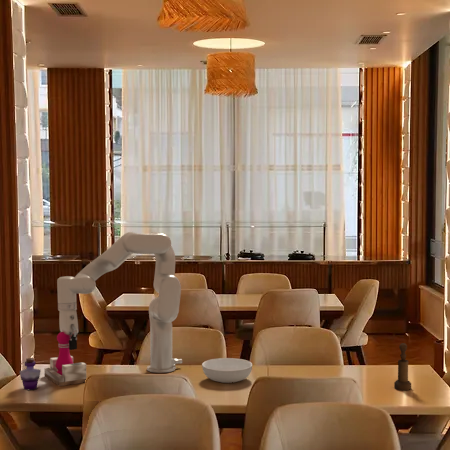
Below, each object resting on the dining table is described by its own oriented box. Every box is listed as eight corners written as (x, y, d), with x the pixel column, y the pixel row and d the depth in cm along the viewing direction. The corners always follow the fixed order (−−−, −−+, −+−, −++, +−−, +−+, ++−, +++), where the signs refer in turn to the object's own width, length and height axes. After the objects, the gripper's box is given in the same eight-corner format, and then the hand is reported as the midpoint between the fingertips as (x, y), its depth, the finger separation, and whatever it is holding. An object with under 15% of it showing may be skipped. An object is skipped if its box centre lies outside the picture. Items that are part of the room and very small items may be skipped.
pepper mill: (69, 378, 315) (68, 329, 314) (52, 377, 317) (52, 329, 316) (76, 373, 322) (75, 326, 321) (59, 372, 324) (59, 325, 323)
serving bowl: (193, 383, 313) (193, 366, 312) (215, 371, 332) (215, 356, 331) (240, 389, 304) (240, 372, 304) (260, 377, 323) (260, 360, 323)
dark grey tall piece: (413, 387, 306) (414, 342, 305) (408, 391, 300) (409, 345, 299) (397, 385, 309) (397, 341, 308) (392, 389, 304) (392, 344, 303)
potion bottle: (24, 385, 311) (24, 355, 310) (45, 385, 309) (44, 356, 308) (15, 390, 302) (15, 360, 301) (36, 391, 301) (35, 361, 300)
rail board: (71, 372, 330) (71, 354, 330) (87, 381, 315) (87, 363, 315) (44, 376, 324) (44, 358, 323) (59, 386, 309) (59, 367, 308)
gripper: (83, 308, 313) (85, 349, 314) (68, 302, 328) (69, 342, 329) (66, 310, 309) (67, 352, 310) (51, 304, 324) (52, 344, 325)
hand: (68, 347), depth 319 cm, fingers open, 9 cm apart
